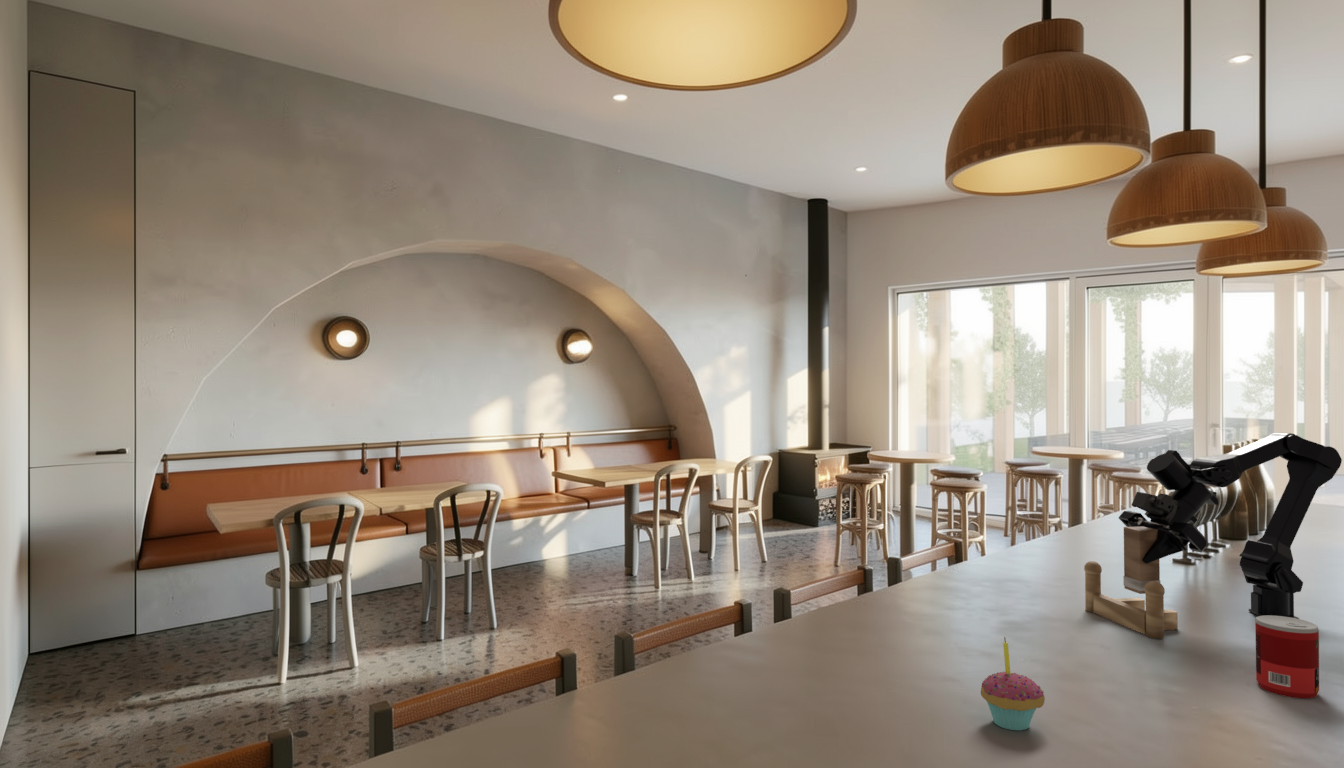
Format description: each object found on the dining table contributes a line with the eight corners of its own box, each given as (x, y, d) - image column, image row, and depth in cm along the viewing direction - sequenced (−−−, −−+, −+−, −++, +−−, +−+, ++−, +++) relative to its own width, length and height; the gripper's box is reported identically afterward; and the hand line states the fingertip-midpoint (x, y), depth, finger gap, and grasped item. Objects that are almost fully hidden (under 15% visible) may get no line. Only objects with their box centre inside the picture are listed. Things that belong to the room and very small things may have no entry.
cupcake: (970, 712, 115) (969, 632, 115) (1024, 710, 116) (1023, 631, 116) (999, 738, 107) (998, 652, 107) (1057, 736, 107) (1056, 650, 108)
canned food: (1330, 701, 119) (1330, 630, 119) (1272, 697, 121) (1271, 627, 121) (1301, 683, 127) (1300, 616, 127) (1246, 679, 128) (1245, 613, 128)
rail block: (1143, 587, 163) (1143, 526, 163) (1160, 593, 158) (1159, 530, 158) (1123, 588, 162) (1122, 526, 163) (1139, 594, 158) (1139, 530, 158)
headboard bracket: (1120, 607, 171) (1120, 558, 171) (1198, 637, 150) (1197, 582, 150) (1081, 608, 170) (1080, 559, 170) (1153, 639, 149) (1153, 583, 149)
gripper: (1126, 474, 170) (1080, 525, 169) (1193, 484, 152) (1143, 541, 150) (1158, 508, 171) (1114, 559, 170) (1229, 522, 153) (1180, 580, 151)
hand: (1135, 559), depth 160 cm, fingers closed on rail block, 4 cm apart
